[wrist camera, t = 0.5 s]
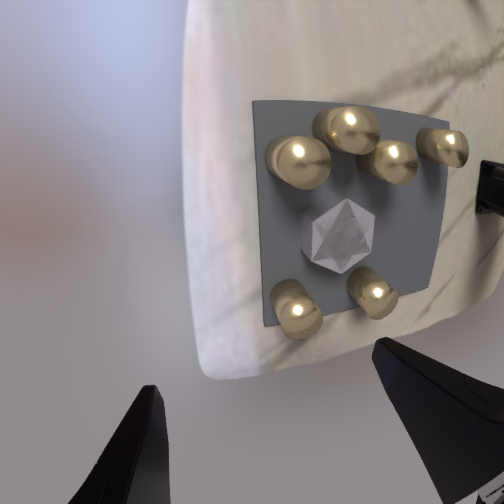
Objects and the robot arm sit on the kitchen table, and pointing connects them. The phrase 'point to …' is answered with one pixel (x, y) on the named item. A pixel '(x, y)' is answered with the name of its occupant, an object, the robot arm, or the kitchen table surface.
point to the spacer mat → (358, 191)
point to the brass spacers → (368, 162)
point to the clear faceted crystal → (336, 232)
